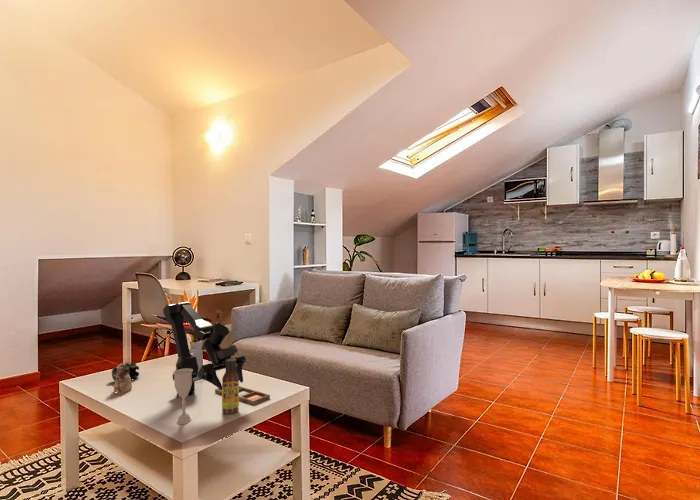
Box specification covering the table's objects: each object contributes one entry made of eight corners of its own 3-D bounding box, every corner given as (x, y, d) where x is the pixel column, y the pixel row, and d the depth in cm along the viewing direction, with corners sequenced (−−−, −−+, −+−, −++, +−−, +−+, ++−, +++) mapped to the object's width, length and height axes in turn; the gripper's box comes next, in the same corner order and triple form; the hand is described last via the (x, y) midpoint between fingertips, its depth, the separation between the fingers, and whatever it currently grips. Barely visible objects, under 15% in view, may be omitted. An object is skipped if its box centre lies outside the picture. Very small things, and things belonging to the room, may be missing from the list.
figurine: (111, 390, 187) (110, 363, 186) (128, 386, 192) (127, 360, 192) (116, 394, 182) (116, 366, 182) (134, 390, 187) (133, 363, 187)
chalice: (177, 417, 156) (176, 368, 156) (196, 416, 157) (195, 368, 156) (170, 425, 149) (169, 374, 149) (190, 424, 149) (189, 374, 149)
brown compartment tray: (215, 392, 182) (215, 389, 182) (231, 387, 189) (231, 383, 189) (253, 405, 167) (253, 401, 167) (269, 398, 174) (269, 394, 174)
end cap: (133, 375, 208) (132, 362, 208) (140, 378, 204) (139, 364, 204) (111, 381, 201) (111, 366, 200) (118, 383, 196) (118, 369, 196)
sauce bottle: (221, 415, 157) (220, 362, 157) (222, 409, 163) (221, 357, 163) (239, 413, 158) (238, 360, 158) (239, 407, 164) (238, 356, 164)
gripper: (201, 343, 156) (218, 379, 149) (243, 335, 170) (261, 367, 163) (190, 361, 161) (206, 396, 154) (232, 351, 175) (249, 383, 168)
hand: (232, 385), depth 160 cm, fingers open, 9 cm apart
